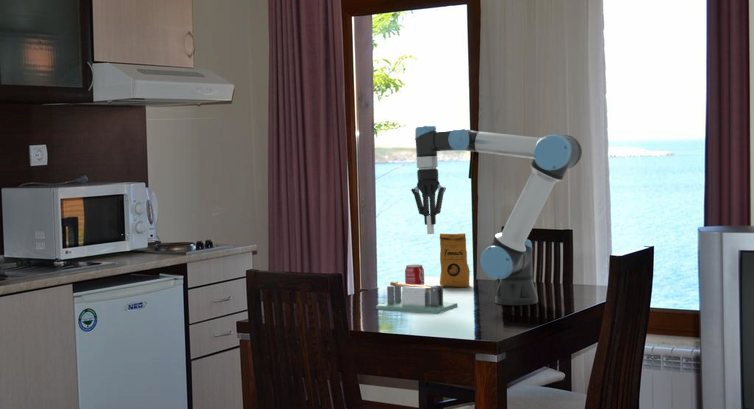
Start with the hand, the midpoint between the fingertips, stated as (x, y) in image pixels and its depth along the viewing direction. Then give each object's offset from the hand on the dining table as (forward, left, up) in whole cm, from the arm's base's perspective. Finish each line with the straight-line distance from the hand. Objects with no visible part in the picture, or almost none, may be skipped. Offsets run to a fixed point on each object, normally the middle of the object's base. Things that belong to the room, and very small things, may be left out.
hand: (430, 233), depth 336 cm
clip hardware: (+1, +11, -25) cm, 28 cm away
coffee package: (+12, -44, -26) cm, 53 cm away
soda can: (+10, -5, -26) cm, 28 cm away
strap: (+2, +11, -18) cm, 21 cm away
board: (+1, +11, -25) cm, 28 cm away
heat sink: (0, +11, -24) cm, 26 cm away
